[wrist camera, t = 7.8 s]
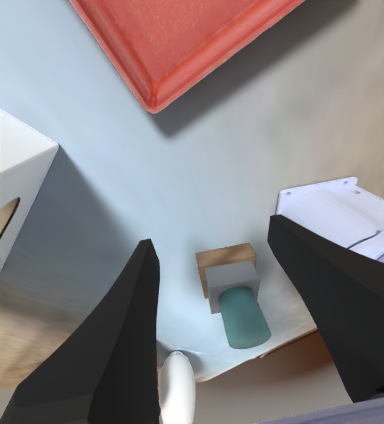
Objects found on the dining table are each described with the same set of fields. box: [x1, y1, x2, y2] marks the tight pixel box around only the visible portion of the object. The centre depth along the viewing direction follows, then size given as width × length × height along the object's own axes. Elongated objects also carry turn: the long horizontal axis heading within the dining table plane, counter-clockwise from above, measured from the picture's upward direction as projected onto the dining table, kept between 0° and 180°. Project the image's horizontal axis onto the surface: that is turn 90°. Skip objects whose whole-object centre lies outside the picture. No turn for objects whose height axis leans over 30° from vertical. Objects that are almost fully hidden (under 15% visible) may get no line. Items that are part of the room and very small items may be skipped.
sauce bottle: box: [159, 351, 195, 424], centre depth 38 cm, size 8×8×18 cm
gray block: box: [205, 260, 260, 314], centre depth 25 cm, size 6×6×3 cm
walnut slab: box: [196, 243, 256, 299], centre depth 28 cm, size 8×8×3 cm
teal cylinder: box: [218, 286, 271, 349], centre depth 22 cm, size 5×5×5 cm
